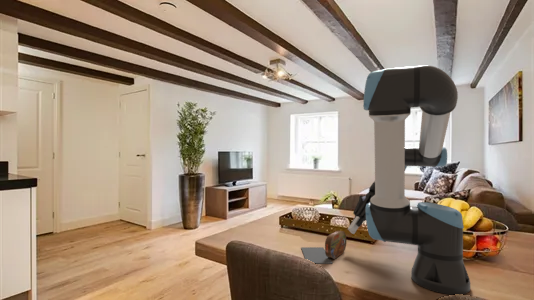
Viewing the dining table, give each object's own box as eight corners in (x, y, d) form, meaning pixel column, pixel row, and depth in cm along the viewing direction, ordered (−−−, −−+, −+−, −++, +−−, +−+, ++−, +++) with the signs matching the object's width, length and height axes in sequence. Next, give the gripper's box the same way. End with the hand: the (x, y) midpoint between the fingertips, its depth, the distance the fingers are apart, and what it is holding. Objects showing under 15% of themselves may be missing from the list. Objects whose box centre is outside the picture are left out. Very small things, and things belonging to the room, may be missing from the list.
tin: (330, 261, 100) (331, 238, 100) (322, 259, 102) (323, 236, 102) (346, 250, 112) (347, 229, 112) (339, 248, 114) (340, 228, 114)
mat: (332, 263, 99) (332, 263, 99) (307, 263, 99) (307, 263, 99) (323, 248, 115) (323, 247, 115) (301, 248, 115) (301, 247, 115)
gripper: (399, 195, 113) (368, 242, 106) (374, 190, 125) (345, 232, 118) (389, 182, 111) (357, 229, 104) (365, 179, 123) (334, 221, 116)
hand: (350, 231), depth 111 cm, fingers closed
